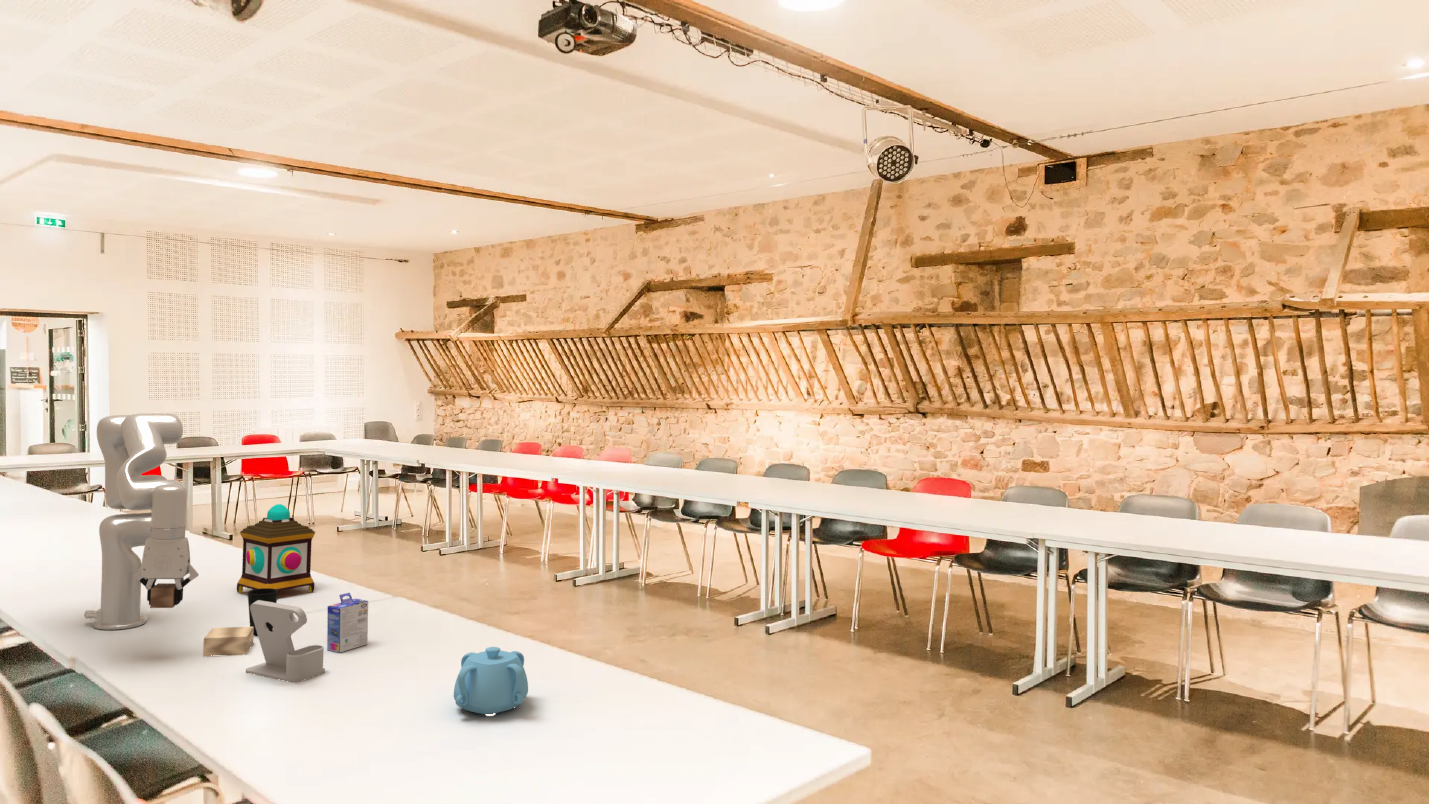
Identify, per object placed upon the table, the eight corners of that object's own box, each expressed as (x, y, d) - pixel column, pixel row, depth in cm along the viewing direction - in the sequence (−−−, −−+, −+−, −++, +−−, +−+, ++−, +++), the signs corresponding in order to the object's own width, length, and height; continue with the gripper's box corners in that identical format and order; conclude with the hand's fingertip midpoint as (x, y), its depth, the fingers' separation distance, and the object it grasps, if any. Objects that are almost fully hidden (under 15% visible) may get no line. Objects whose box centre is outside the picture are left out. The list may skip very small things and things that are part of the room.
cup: (263, 638, 248) (265, 595, 248) (239, 635, 249) (241, 593, 249) (282, 631, 255) (284, 589, 255) (259, 628, 257) (260, 587, 257)
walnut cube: (150, 607, 225) (151, 588, 225) (157, 602, 230) (158, 583, 230) (172, 607, 226) (173, 588, 226) (178, 602, 231) (179, 583, 231)
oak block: (203, 657, 230) (203, 638, 230) (211, 646, 240) (212, 628, 240) (246, 655, 233) (247, 636, 233) (253, 644, 243) (253, 626, 243)
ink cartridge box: (353, 641, 249) (355, 589, 248) (368, 644, 246) (370, 592, 246) (324, 650, 240) (326, 596, 240) (340, 653, 237) (341, 599, 237)
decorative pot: (522, 721, 196) (525, 659, 195) (447, 720, 194) (450, 658, 194) (530, 695, 212) (532, 638, 212) (460, 695, 210) (463, 637, 210)
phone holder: (328, 672, 222) (331, 600, 222) (296, 683, 213) (298, 608, 213) (275, 661, 229) (278, 591, 228) (242, 672, 219) (244, 599, 219)
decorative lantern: (320, 592, 302) (323, 504, 302) (264, 603, 286) (267, 509, 285) (286, 583, 313) (289, 498, 313) (229, 593, 296) (233, 503, 296)
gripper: (124, 535, 222) (121, 607, 222) (200, 536, 226) (197, 607, 226) (136, 529, 229) (133, 599, 230) (209, 531, 233) (206, 599, 234)
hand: (164, 602), depth 228 cm, fingers closed on walnut cube, 5 cm apart
